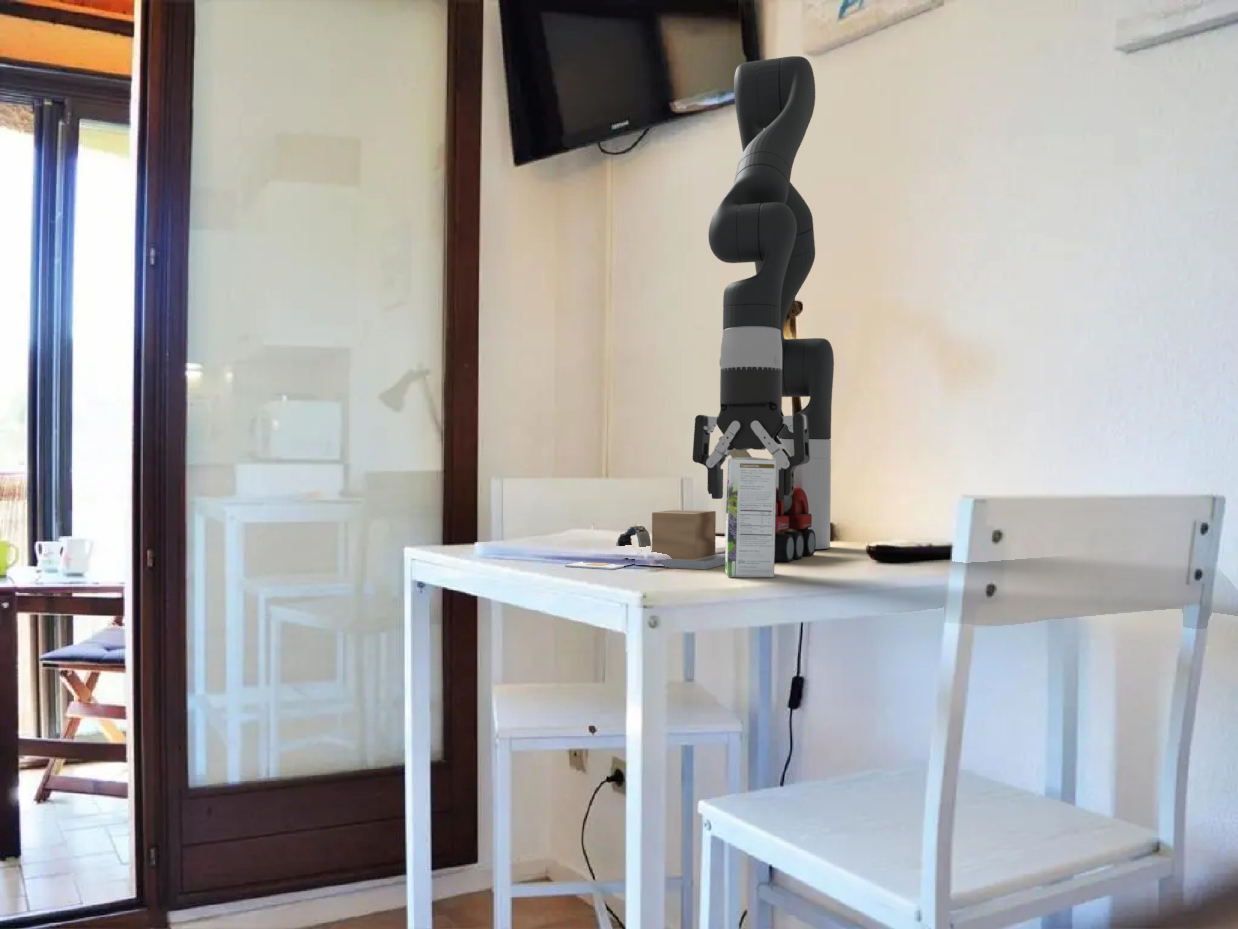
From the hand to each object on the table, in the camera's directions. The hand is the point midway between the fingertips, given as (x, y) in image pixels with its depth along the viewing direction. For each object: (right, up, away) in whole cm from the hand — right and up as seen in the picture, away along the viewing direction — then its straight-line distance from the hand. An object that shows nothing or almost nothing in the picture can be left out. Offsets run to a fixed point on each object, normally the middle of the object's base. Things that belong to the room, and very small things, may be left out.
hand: (749, 499), depth 128 cm
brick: (-7, -8, +13) cm, 17 cm away
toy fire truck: (+5, -10, +24) cm, 26 cm away
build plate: (-7, -9, +13) cm, 17 cm away
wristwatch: (-14, -9, +19) cm, 26 cm away
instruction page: (-18, -9, +11) cm, 23 cm away
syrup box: (0, -10, 0) cm, 10 cm away
